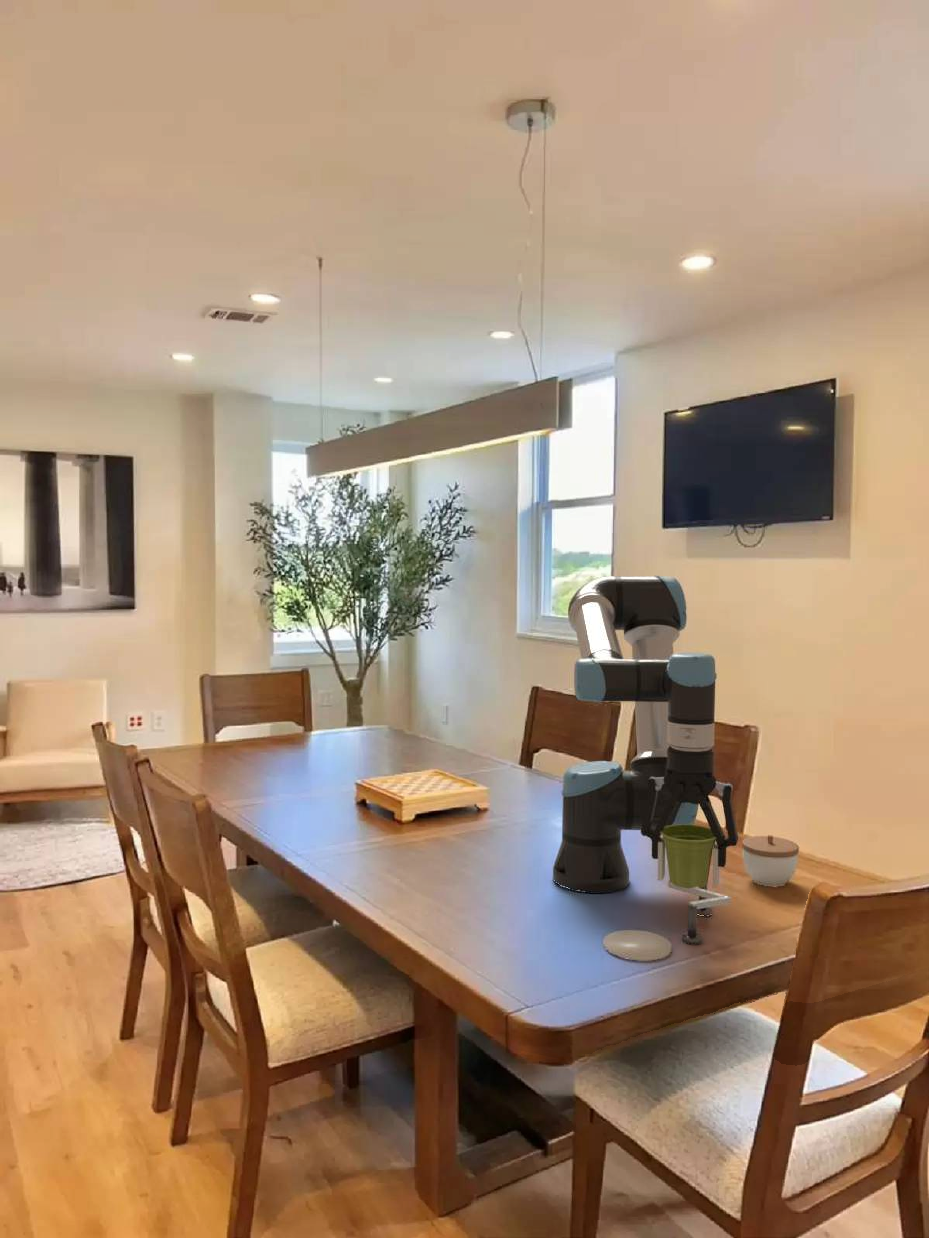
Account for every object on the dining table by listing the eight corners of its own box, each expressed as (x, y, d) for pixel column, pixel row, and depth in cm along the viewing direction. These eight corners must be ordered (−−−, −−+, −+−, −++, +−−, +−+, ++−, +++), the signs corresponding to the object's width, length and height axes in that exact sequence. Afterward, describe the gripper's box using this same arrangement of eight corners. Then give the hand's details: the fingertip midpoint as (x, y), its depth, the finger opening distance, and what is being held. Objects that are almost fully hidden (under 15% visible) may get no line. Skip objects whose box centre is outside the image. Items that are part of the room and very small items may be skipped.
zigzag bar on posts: (656, 938, 153) (657, 900, 153) (672, 905, 168) (673, 870, 168) (725, 949, 149) (726, 910, 148) (735, 914, 164) (736, 878, 163)
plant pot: (650, 885, 150) (651, 834, 150) (671, 869, 158) (672, 820, 158) (706, 897, 145) (707, 843, 145) (724, 879, 153) (725, 829, 153)
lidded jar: (761, 893, 174) (763, 845, 174) (730, 875, 185) (731, 830, 184) (809, 888, 177) (810, 841, 177) (776, 870, 188) (777, 826, 187)
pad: (596, 954, 147) (596, 950, 147) (611, 929, 157) (611, 925, 157) (664, 965, 143) (665, 962, 143) (676, 939, 153) (676, 935, 153)
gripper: (622, 746, 151) (620, 880, 152) (755, 756, 143) (752, 897, 144) (631, 738, 158) (629, 866, 159) (758, 747, 150) (755, 882, 151)
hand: (688, 881), depth 152 cm, fingers closed on plant pot, 8 cm apart
